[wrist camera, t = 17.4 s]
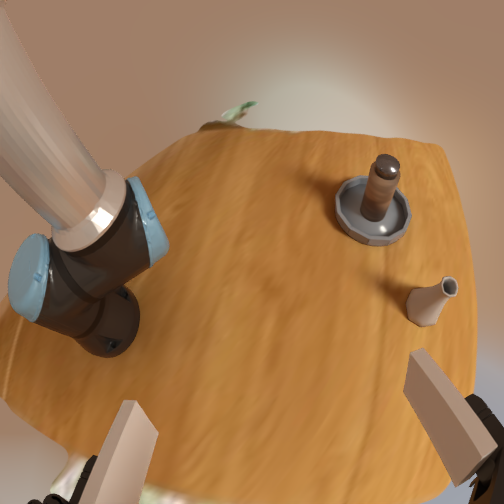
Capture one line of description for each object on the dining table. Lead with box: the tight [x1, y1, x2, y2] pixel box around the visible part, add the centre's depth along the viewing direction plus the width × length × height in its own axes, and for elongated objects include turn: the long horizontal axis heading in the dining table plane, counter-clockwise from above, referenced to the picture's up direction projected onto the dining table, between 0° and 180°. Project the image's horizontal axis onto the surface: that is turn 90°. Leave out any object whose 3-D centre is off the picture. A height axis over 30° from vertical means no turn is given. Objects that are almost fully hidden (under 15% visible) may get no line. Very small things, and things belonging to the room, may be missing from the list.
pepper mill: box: [360, 154, 400, 222], centre depth 43 cm, size 5×5×13 cm
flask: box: [406, 276, 458, 327], centre depth 35 cm, size 7×7×10 cm
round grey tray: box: [335, 175, 412, 246], centre depth 48 cm, size 15×15×2 cm
